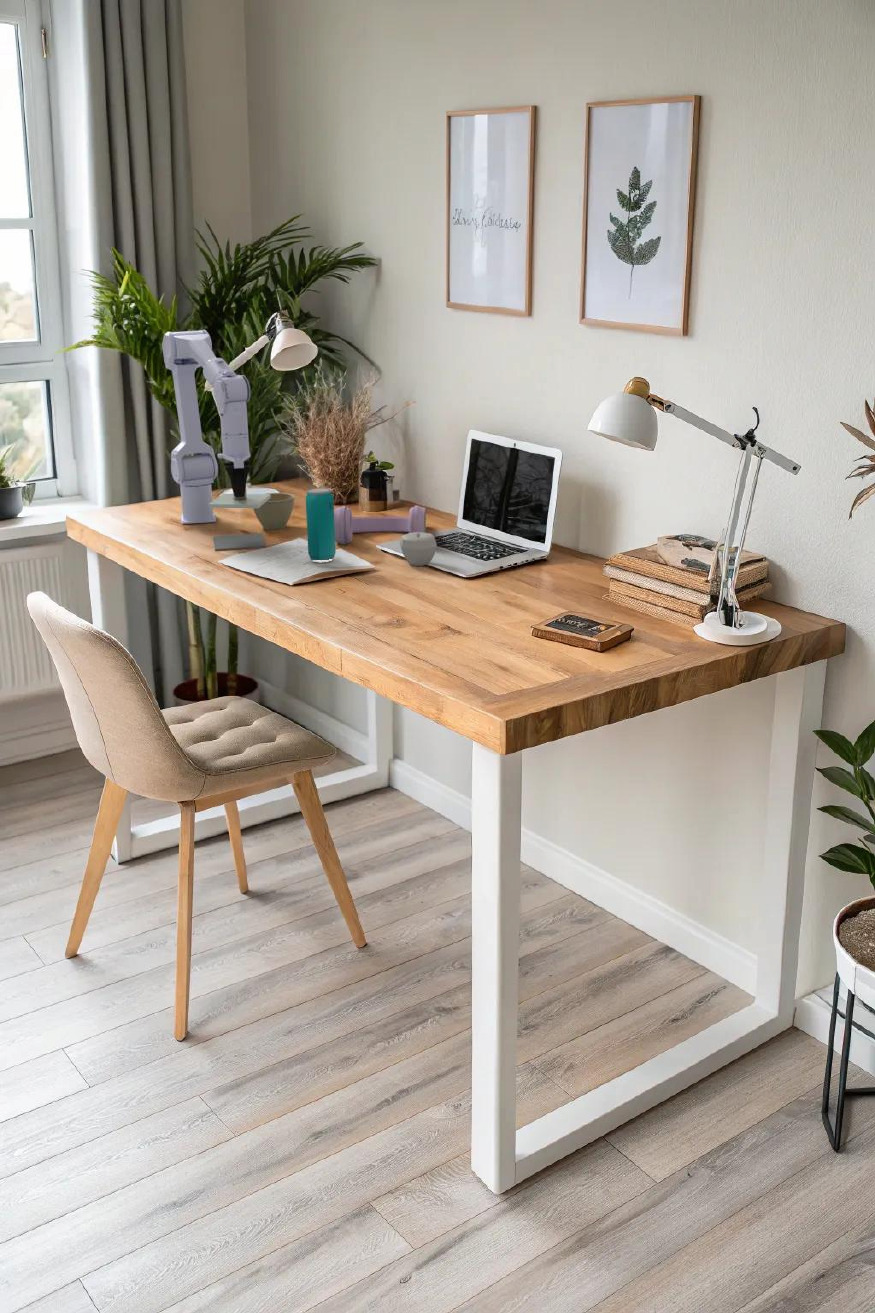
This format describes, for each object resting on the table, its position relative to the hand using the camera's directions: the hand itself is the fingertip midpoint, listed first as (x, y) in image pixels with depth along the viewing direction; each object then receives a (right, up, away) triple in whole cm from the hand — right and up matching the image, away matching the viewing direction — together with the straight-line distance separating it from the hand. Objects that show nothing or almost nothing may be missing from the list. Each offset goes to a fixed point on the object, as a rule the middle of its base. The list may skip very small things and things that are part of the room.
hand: (239, 495), depth 275 cm
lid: (0, -2, +1) cm, 2 cm away
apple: (+40, -17, -16) cm, 46 cm away
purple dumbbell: (+31, -9, +7) cm, 33 cm away
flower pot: (+6, -6, +16) cm, 18 cm away
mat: (0, -10, +2) cm, 11 cm away
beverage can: (+19, -15, -13) cm, 28 cm away
